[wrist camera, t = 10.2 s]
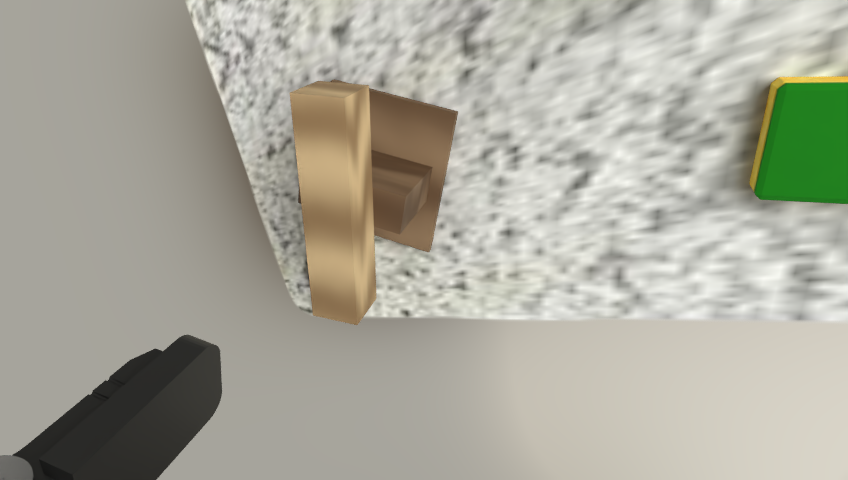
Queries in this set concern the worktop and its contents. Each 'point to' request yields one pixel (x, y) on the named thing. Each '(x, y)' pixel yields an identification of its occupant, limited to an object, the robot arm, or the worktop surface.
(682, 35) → the worktop surface
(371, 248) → the oak rod
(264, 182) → the worktop surface
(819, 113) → the dish sponge
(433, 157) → the walnut fulcrum
